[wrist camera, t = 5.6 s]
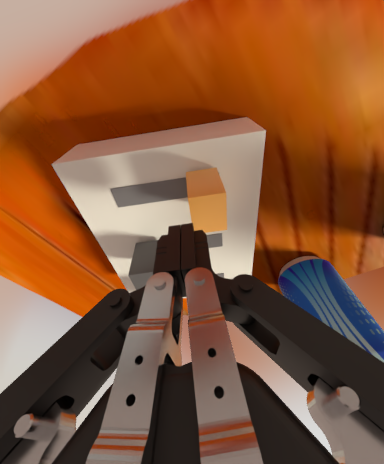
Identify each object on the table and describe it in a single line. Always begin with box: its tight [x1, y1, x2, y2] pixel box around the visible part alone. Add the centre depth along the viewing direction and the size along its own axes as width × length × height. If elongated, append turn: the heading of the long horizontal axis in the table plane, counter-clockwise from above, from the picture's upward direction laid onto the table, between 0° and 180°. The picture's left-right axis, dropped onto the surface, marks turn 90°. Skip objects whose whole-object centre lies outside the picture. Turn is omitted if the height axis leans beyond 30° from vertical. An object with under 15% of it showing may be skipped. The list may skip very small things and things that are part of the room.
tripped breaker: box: [186, 168, 227, 233], centre depth 15 cm, size 2×3×4 cm
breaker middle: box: [128, 240, 158, 290], centre depth 19 cm, size 2×3×4 cm
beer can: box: [278, 256, 384, 362], centre depth 27 cm, size 8×8×16 cm
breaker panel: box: [51, 117, 266, 298], centre depth 23 cm, size 16×20×5 cm
